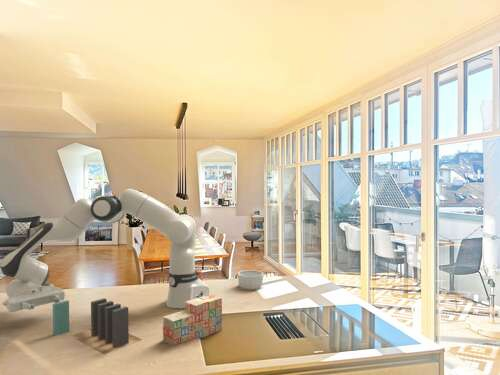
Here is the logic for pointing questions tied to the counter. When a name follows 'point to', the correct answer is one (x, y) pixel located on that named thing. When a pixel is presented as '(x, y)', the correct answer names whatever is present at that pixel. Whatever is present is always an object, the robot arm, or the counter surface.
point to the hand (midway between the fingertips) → (45, 303)
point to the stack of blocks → (194, 320)
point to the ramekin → (250, 279)
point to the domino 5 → (120, 327)
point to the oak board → (101, 341)
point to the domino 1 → (60, 317)
